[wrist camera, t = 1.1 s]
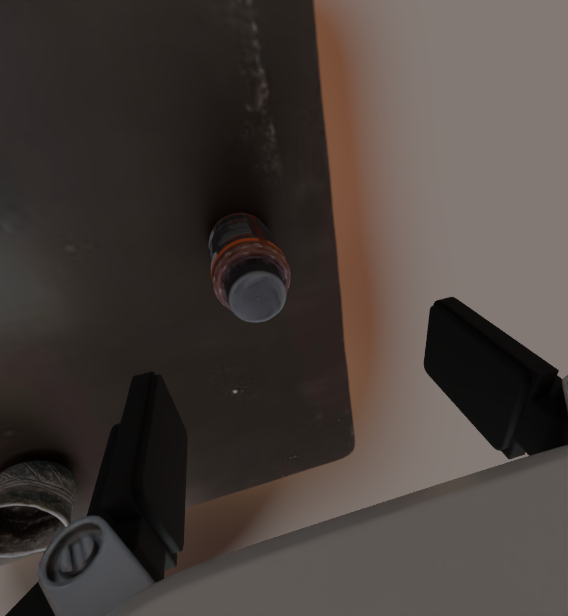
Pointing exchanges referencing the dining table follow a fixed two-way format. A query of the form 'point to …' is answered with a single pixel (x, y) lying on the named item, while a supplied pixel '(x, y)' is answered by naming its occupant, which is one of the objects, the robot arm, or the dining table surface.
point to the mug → (34, 505)
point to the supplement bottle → (248, 268)
